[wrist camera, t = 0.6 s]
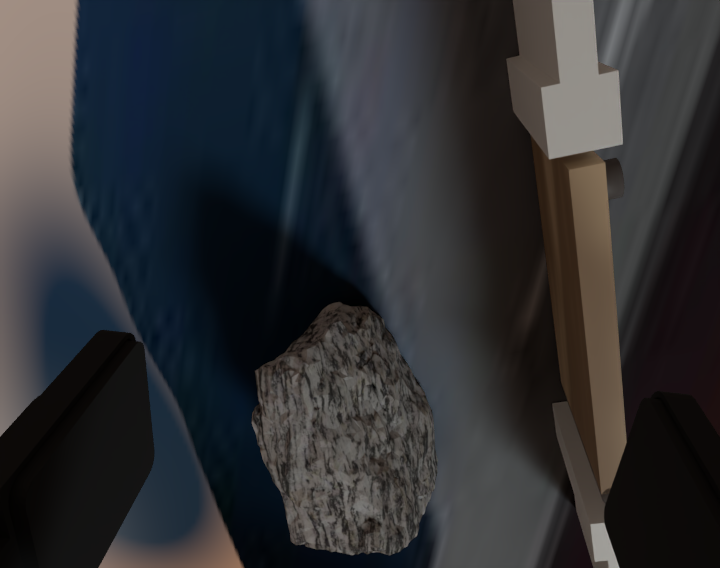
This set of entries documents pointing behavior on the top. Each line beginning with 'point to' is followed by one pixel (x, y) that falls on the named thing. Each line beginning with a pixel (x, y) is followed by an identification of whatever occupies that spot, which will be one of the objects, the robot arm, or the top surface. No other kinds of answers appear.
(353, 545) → the rock
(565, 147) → the door frame
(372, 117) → the top surface
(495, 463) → the top surface
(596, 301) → the door
